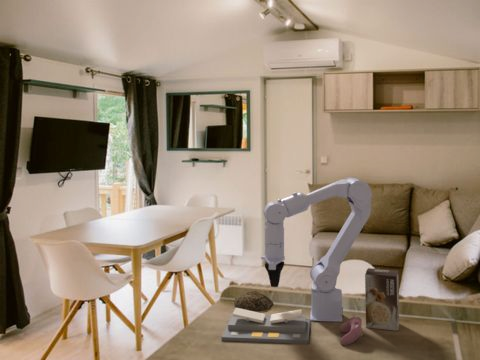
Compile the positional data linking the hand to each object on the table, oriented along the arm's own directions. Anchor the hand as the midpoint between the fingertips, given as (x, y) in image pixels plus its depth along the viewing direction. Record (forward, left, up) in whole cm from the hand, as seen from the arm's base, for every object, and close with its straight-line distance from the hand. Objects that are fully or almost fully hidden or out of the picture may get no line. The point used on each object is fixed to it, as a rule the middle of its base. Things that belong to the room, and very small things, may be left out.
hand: (274, 286), depth 158 cm
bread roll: (+8, -12, -11) cm, 18 cm away
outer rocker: (+7, +7, -7) cm, 12 cm away
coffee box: (-31, +2, -11) cm, 33 cm away
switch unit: (+2, +9, -10) cm, 14 cm away
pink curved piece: (-22, +12, -11) cm, 27 cm away
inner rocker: (-4, +7, -7) cm, 11 cm away
